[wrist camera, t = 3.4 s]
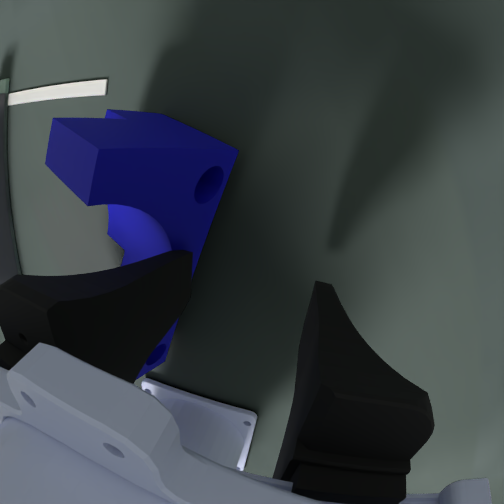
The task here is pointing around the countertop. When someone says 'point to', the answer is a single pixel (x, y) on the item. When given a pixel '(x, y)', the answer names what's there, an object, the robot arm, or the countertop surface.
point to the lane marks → (59, 92)
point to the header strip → (6, 198)
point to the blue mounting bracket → (144, 183)
